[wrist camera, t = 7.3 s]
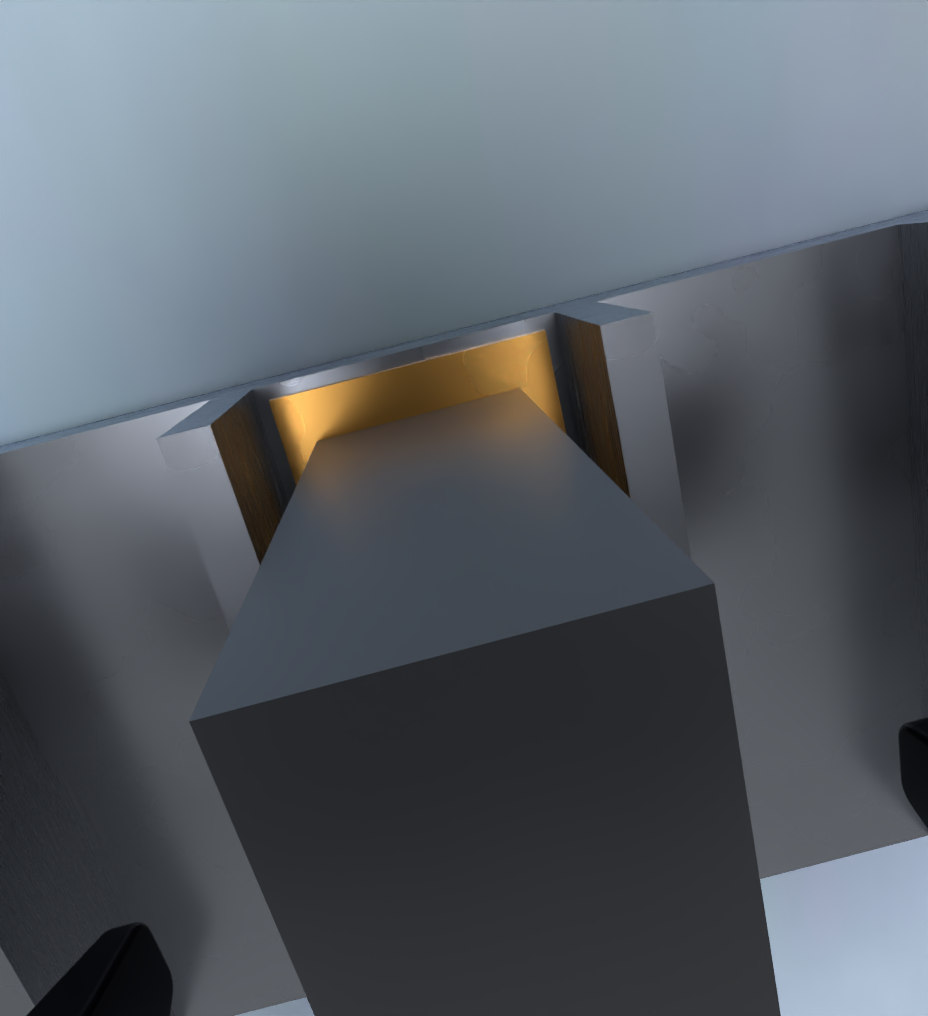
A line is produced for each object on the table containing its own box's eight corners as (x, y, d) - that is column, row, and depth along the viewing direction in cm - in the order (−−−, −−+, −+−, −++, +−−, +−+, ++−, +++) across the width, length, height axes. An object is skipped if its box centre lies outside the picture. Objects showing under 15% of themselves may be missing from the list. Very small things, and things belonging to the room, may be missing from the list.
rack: (1251, 127, 12) (2067, -5, 6) (1197, 752, 15) (1666, 1039, 10) (-137, 481, 12) (-657, 691, 6) (146, 1025, 15) (-4, 1477, 10)
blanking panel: (519, 388, 11) (715, 584, 4) (627, 870, 14) (846, 1443, 7) (317, 441, 11) (188, 721, 4) (466, 913, 14) (534, 1526, 7)
